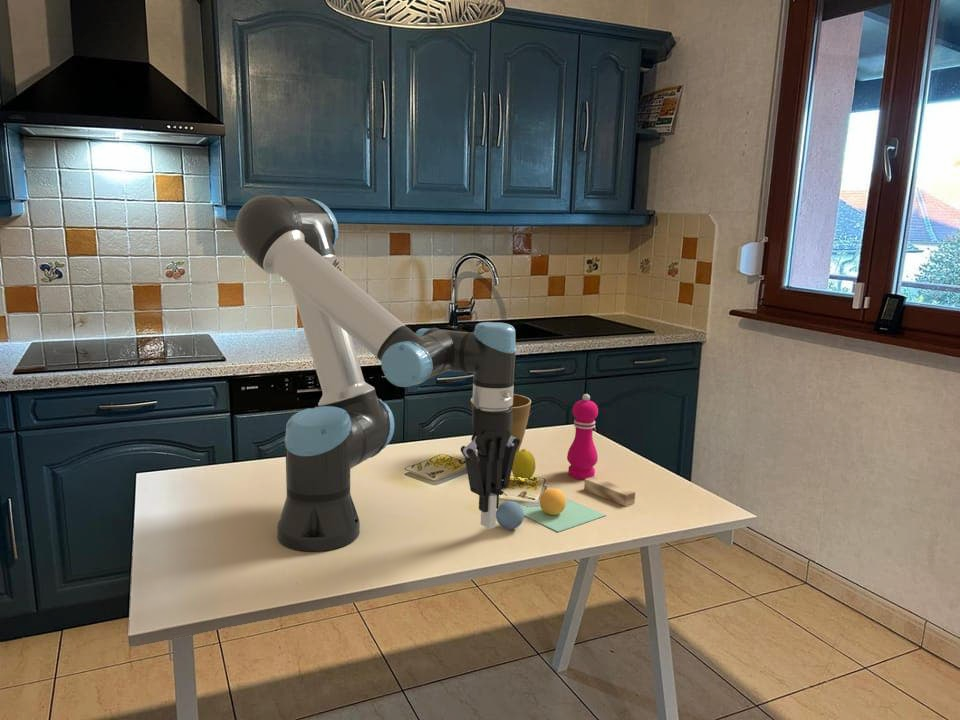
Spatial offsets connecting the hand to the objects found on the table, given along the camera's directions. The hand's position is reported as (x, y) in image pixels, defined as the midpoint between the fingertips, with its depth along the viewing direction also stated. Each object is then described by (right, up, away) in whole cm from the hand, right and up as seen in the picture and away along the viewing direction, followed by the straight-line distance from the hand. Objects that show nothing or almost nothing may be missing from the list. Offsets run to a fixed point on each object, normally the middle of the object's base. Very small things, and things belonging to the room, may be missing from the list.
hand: (488, 525), depth 139 cm
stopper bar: (+27, +1, +22) cm, 35 cm away
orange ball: (+13, +2, +11) cm, 17 cm away
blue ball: (+4, +1, +3) cm, 6 cm away
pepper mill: (+23, +4, +35) cm, 42 cm away
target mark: (+15, 0, +12) cm, 19 cm away
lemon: (+8, +3, +29) cm, 31 cm away
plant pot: (+3, +6, +43) cm, 43 cm away
